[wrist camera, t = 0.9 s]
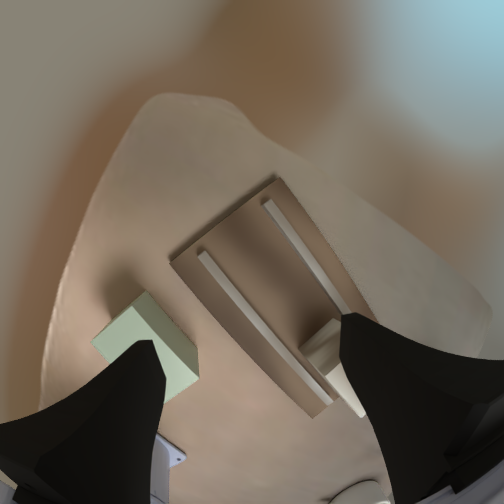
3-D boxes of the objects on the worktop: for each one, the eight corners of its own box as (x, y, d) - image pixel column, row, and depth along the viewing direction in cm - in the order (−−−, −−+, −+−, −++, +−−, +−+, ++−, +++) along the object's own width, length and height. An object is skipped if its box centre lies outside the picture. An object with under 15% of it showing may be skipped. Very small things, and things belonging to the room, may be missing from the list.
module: (162, 374, 24) (155, 413, 17) (111, 319, 23) (87, 345, 16) (197, 348, 24) (199, 382, 18) (146, 289, 23) (129, 307, 17)
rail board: (308, 414, 27) (339, 455, 19) (170, 262, 23) (158, 273, 16) (386, 343, 28) (431, 366, 21) (276, 179, 25) (310, 155, 17)
